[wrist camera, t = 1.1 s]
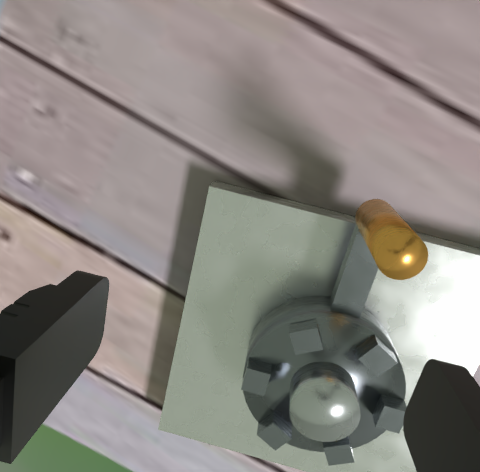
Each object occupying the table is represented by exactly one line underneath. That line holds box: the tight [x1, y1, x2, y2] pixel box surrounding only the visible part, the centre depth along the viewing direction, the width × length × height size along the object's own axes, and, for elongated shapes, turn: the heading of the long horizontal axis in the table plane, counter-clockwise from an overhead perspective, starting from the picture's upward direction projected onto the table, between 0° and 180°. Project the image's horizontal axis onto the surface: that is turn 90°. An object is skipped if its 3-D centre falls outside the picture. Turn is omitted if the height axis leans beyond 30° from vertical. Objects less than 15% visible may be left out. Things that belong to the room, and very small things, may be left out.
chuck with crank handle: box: [241, 199, 428, 466], centre depth 26 cm, size 19×11×8 cm, turn 167°
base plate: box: [158, 181, 480, 472], centre depth 32 cm, size 22×22×2 cm
